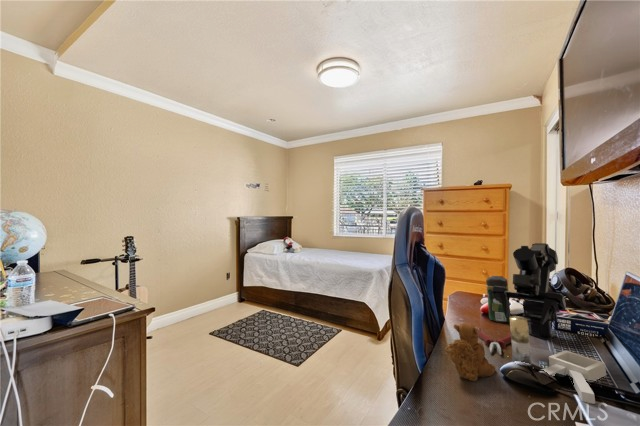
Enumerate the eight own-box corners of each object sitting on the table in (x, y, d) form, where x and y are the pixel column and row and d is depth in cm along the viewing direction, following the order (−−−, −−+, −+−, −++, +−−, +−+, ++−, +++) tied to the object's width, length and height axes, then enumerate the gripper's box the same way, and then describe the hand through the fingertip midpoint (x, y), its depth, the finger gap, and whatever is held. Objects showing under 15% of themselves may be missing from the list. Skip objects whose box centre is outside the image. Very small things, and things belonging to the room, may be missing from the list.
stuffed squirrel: (497, 369, 77) (493, 322, 78) (482, 391, 67) (478, 337, 68) (459, 358, 84) (457, 315, 85) (442, 377, 74) (439, 328, 75)
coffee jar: (490, 315, 124) (487, 274, 125) (511, 318, 119) (508, 275, 120) (487, 321, 116) (484, 277, 117) (509, 324, 111) (506, 279, 112)
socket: (566, 362, 80) (565, 350, 80) (630, 384, 68) (628, 370, 68) (525, 379, 72) (524, 365, 72) (589, 407, 60) (587, 391, 60)
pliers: (475, 354, 88) (474, 346, 88) (476, 333, 105) (476, 326, 105) (518, 362, 82) (517, 353, 82) (512, 338, 99) (512, 331, 99)
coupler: (518, 357, 83) (515, 315, 84) (534, 364, 79) (530, 319, 80) (509, 361, 82) (506, 317, 82) (525, 367, 78) (521, 321, 78)
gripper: (491, 262, 96) (482, 300, 88) (560, 266, 82) (557, 311, 74) (499, 281, 101) (492, 319, 93) (567, 288, 87) (564, 333, 79)
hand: (523, 320), depth 84 cm, fingers open, 9 cm apart
